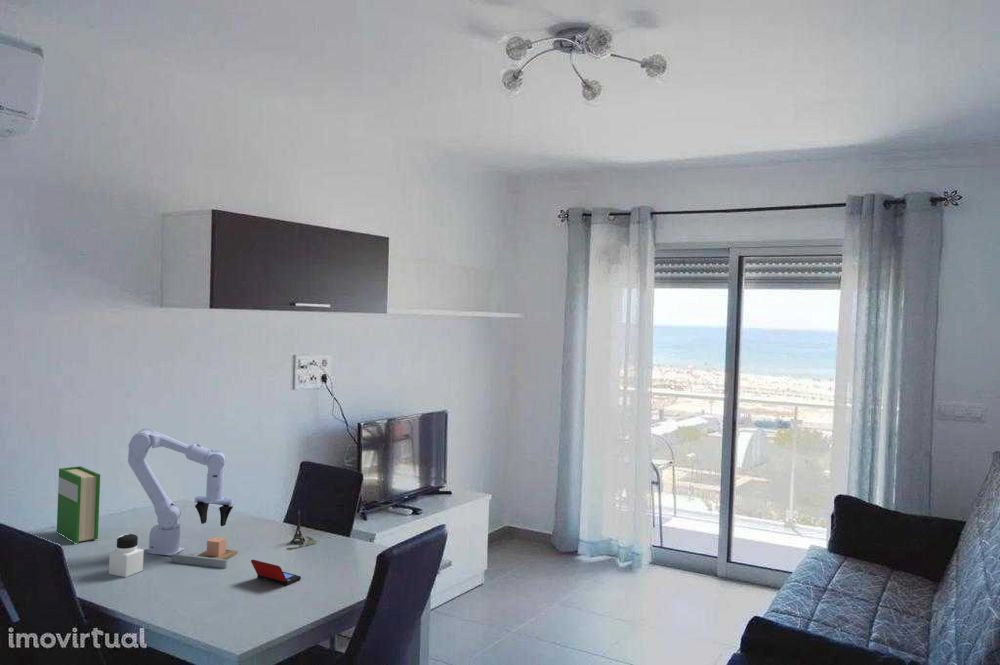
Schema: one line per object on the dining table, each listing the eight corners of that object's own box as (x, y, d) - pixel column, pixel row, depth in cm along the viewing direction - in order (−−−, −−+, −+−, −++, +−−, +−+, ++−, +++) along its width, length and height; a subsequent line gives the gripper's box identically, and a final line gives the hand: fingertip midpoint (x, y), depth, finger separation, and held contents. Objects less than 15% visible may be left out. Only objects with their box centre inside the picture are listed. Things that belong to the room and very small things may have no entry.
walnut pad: (195, 559, 255) (195, 556, 255) (211, 550, 265) (211, 547, 265) (221, 562, 254) (222, 559, 254) (237, 553, 264) (237, 550, 263)
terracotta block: (206, 555, 257) (207, 540, 257) (213, 551, 262) (214, 537, 262) (218, 556, 256) (219, 542, 256) (225, 552, 261) (226, 538, 261)
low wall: (171, 561, 252) (171, 554, 252) (173, 560, 253) (173, 553, 253) (225, 568, 249) (225, 560, 248) (227, 567, 250) (227, 559, 249)
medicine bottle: (143, 570, 242) (144, 534, 242) (125, 577, 236) (127, 540, 235) (126, 567, 245) (127, 531, 244) (108, 574, 238) (109, 536, 238)
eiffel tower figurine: (288, 552, 270) (290, 515, 269) (272, 545, 276) (274, 509, 276) (322, 543, 281) (324, 508, 281) (306, 537, 288) (308, 502, 287)
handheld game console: (302, 580, 242) (303, 557, 242) (278, 590, 232) (279, 566, 232) (273, 572, 248) (274, 550, 248) (248, 582, 238) (249, 558, 238)
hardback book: (97, 540, 270) (100, 474, 270) (75, 544, 264) (78, 477, 264) (78, 529, 281) (80, 466, 281) (56, 533, 276) (59, 468, 275)
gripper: (190, 486, 263) (188, 524, 263) (227, 490, 260) (225, 529, 260) (201, 482, 269) (200, 519, 270) (238, 486, 266) (236, 524, 267)
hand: (213, 524), depth 265 cm, fingers open, 7 cm apart
